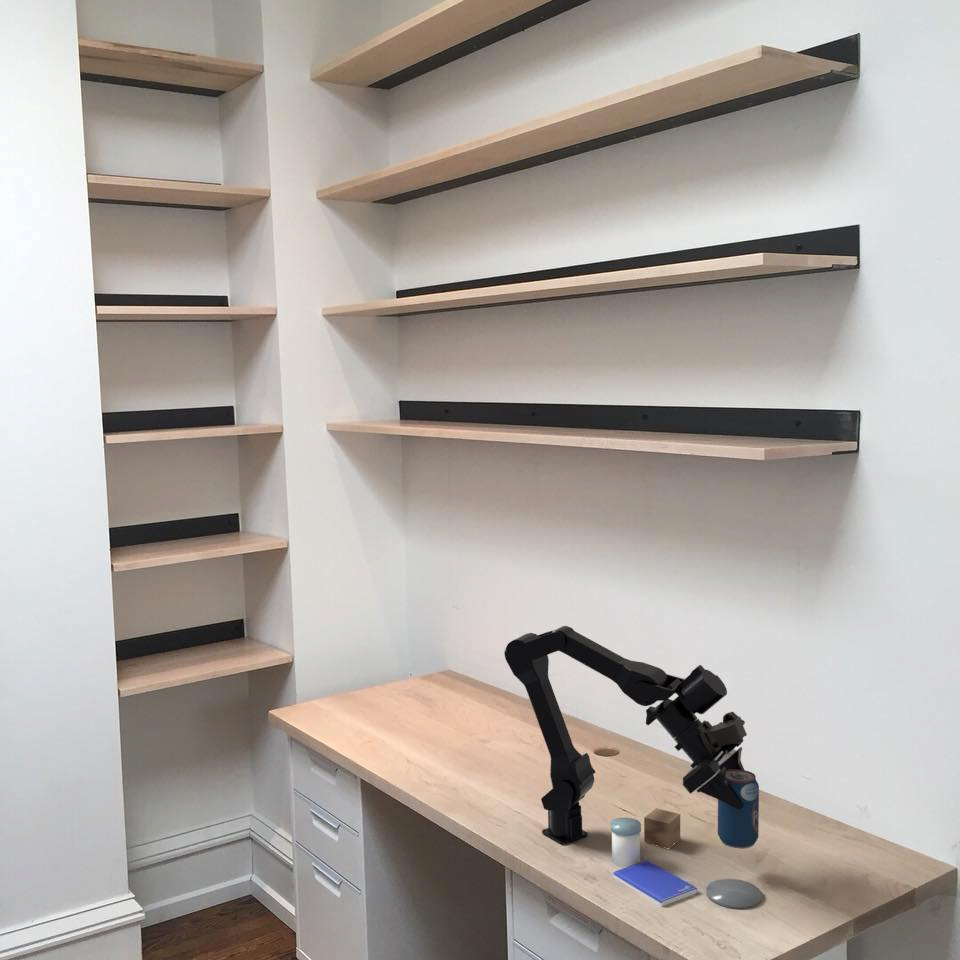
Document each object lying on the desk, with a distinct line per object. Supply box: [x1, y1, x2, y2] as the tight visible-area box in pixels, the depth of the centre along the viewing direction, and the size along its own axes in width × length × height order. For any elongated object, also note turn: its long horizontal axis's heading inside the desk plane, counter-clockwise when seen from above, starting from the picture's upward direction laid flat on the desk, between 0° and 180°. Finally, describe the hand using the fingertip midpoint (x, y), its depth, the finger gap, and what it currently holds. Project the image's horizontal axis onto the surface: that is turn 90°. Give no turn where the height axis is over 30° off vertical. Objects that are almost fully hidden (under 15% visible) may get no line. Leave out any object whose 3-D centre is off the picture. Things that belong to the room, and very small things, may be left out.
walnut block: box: [643, 807, 681, 849], centre depth 195 cm, size 5×5×5 cm
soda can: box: [717, 769, 760, 849], centre depth 181 cm, size 7×7×12 cm
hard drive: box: [612, 860, 699, 907], centre depth 178 cm, size 2×8×12 cm
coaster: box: [706, 878, 763, 910], centre depth 174 cm, size 9×9×1 cm
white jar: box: [610, 817, 642, 868], centre depth 187 cm, size 5×5×7 cm
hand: (747, 800), depth 180 cm, fingers closed on soda can, 7 cm apart
